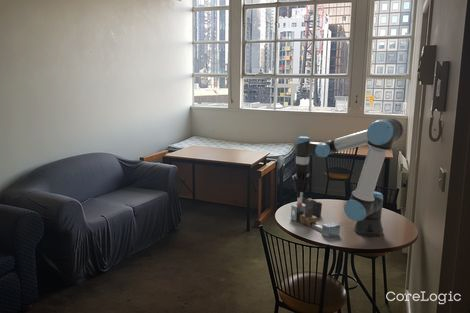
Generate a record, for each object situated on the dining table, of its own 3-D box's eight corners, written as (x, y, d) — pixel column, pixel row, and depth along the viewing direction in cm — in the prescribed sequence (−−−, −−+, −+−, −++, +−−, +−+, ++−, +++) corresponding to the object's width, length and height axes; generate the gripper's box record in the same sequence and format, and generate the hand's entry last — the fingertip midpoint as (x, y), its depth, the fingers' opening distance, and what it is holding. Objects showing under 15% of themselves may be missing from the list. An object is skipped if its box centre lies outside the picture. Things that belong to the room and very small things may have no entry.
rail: (339, 235, 219) (340, 219, 217) (327, 238, 215) (328, 222, 213) (301, 217, 246) (302, 203, 244) (290, 219, 242) (291, 205, 240)
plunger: (302, 210, 240) (303, 203, 239) (298, 211, 239) (299, 203, 238) (299, 209, 243) (300, 201, 242) (295, 209, 241) (296, 202, 240)
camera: (325, 213, 255) (326, 198, 253) (319, 218, 246) (320, 202, 244) (304, 208, 263) (305, 194, 261) (297, 213, 254) (298, 197, 252)
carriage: (316, 225, 233) (318, 200, 230) (308, 226, 230) (310, 201, 227) (307, 220, 239) (309, 196, 237) (299, 222, 237) (301, 198, 234)
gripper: (306, 161, 242) (304, 199, 246) (289, 163, 235) (286, 202, 240) (315, 163, 235) (312, 202, 240) (297, 165, 229) (294, 205, 233)
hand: (299, 202), depth 240 cm, fingers closed
